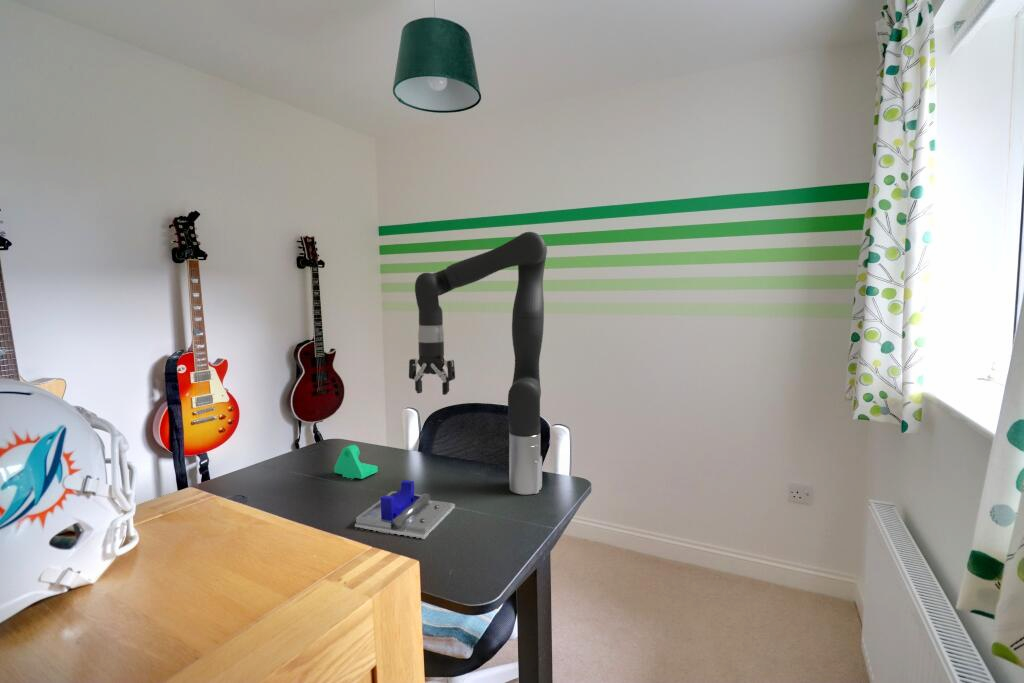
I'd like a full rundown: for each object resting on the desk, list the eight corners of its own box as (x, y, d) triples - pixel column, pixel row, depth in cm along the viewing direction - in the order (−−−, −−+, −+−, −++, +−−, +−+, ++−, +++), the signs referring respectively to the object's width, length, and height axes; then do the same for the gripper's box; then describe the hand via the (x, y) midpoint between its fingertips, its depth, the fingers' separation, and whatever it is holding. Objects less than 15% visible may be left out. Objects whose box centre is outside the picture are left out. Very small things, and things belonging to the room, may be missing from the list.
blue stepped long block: (399, 500, 132) (399, 479, 131) (414, 502, 130) (413, 481, 130) (376, 520, 120) (375, 497, 119) (391, 522, 119) (391, 499, 118)
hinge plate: (454, 507, 129) (454, 495, 129) (424, 539, 112) (423, 525, 112) (393, 498, 135) (393, 487, 135) (355, 528, 118) (354, 515, 118)
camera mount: (379, 474, 154) (378, 443, 154) (361, 482, 148) (360, 450, 147) (352, 468, 160) (351, 438, 159) (334, 475, 153) (333, 444, 152)
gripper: (458, 339, 144) (458, 392, 145) (415, 338, 148) (417, 390, 149) (447, 342, 136) (448, 397, 138) (403, 340, 141) (404, 394, 142)
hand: (432, 393), depth 144 cm, fingers open, 8 cm apart
